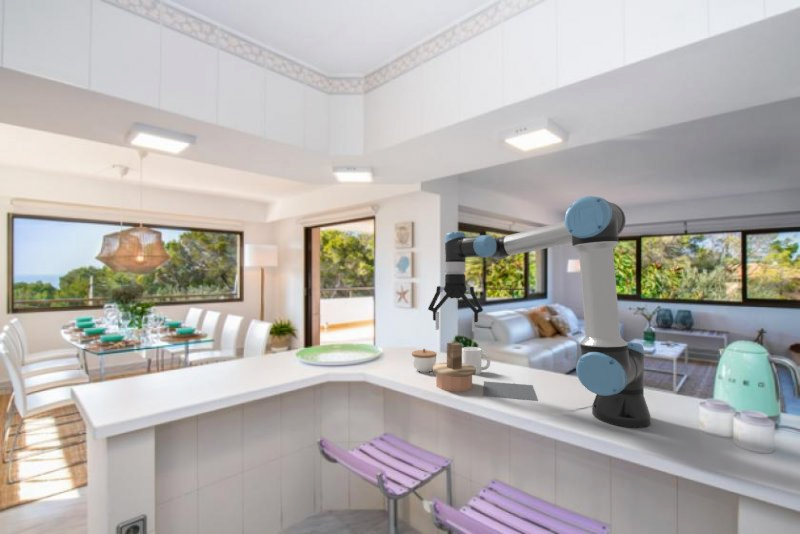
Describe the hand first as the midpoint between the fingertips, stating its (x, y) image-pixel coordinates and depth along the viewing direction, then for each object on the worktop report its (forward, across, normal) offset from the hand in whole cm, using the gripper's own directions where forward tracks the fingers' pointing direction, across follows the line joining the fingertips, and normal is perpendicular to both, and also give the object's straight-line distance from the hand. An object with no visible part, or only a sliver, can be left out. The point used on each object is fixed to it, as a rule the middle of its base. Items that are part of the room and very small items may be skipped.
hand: (455, 330), depth 141 cm
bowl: (+21, 0, 0) cm, 21 cm away
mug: (+21, -5, -23) cm, 32 cm away
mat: (+22, -19, -2) cm, 29 cm away
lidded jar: (+21, +17, -19) cm, 33 cm away
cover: (+15, 0, 0) cm, 15 cm away
